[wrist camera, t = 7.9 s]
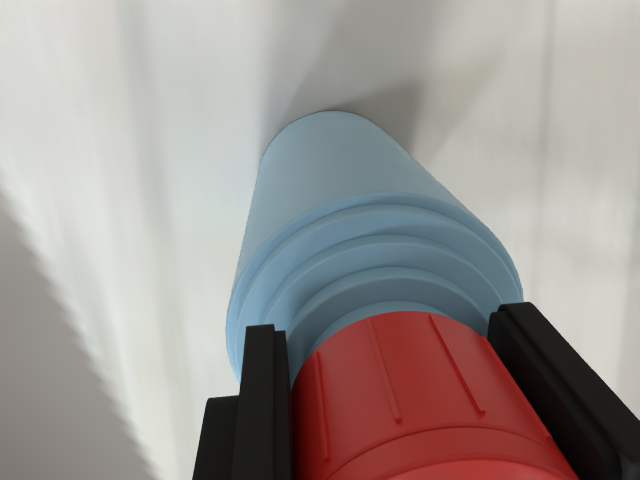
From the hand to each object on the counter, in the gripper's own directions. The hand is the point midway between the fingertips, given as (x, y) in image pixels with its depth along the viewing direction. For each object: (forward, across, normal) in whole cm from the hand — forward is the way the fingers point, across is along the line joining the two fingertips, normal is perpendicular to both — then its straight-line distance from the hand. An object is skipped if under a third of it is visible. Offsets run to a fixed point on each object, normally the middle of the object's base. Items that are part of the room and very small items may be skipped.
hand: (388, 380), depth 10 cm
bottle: (+15, 0, +1) cm, 15 cm away
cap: (-1, 0, 0) cm, 1 cm away
